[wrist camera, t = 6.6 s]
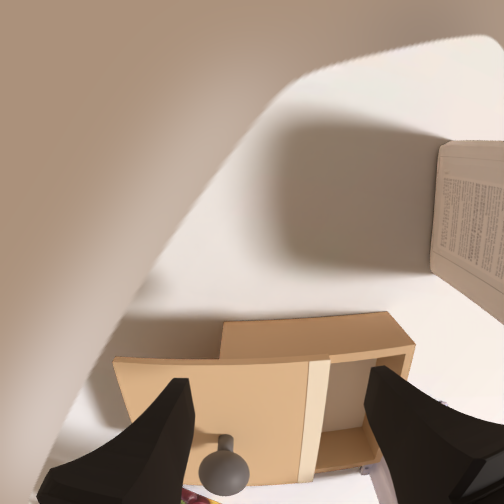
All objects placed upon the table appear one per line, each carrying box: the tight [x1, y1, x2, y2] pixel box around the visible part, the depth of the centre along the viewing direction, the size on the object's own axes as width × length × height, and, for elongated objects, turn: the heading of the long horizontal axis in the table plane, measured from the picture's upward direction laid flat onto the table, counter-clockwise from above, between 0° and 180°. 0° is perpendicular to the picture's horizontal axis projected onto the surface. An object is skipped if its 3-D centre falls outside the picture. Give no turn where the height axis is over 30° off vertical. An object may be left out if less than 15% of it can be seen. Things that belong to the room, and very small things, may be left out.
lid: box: [112, 354, 331, 496], centre depth 17 cm, size 12×12×5 cm
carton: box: [219, 311, 416, 473], centre depth 22 cm, size 12×12×5 cm
